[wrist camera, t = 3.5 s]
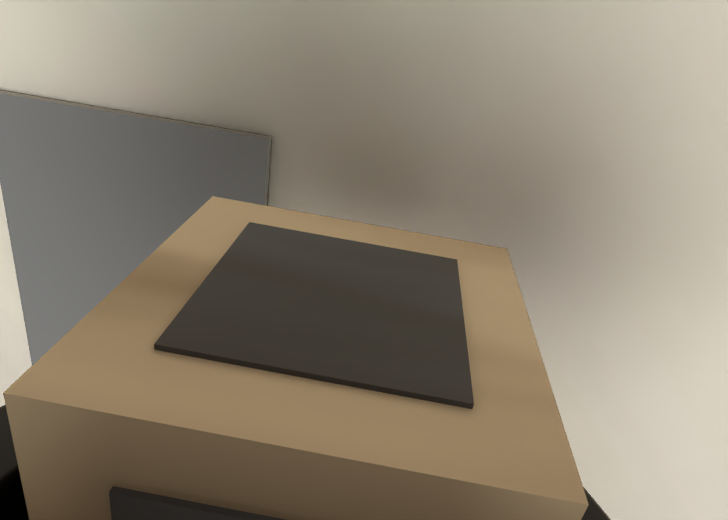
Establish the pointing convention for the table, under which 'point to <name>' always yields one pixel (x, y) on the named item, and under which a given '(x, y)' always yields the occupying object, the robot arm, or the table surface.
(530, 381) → the tan cube block
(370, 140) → the table surface
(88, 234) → the slate pad
